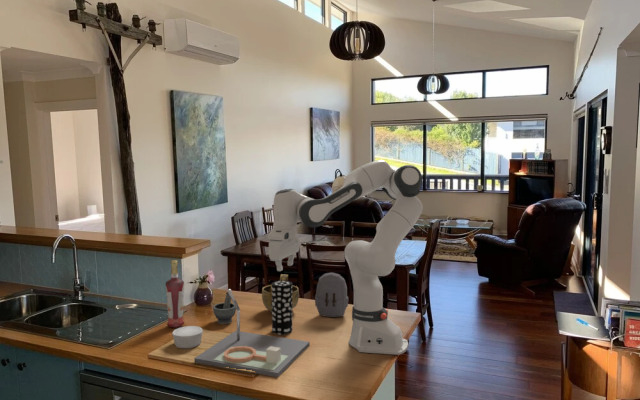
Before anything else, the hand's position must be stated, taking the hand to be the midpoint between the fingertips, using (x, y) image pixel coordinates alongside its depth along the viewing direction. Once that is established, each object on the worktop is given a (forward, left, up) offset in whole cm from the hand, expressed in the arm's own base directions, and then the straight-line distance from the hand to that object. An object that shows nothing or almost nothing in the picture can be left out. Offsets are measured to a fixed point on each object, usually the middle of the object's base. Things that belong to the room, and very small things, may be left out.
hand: (285, 268), depth 184 cm
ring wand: (+3, +21, -27) cm, 35 cm away
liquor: (+50, +1, -29) cm, 58 cm away
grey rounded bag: (-7, -34, -29) cm, 46 cm away
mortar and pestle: (+34, -12, -29) cm, 46 cm away
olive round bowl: (+17, -32, -29) cm, 47 cm away
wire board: (+6, +14, -29) cm, 33 cm away
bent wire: (+16, +11, -28) cm, 34 cm away
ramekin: (+34, +15, -30) cm, 47 cm away
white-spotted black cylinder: (+6, -10, -29) cm, 32 cm away
